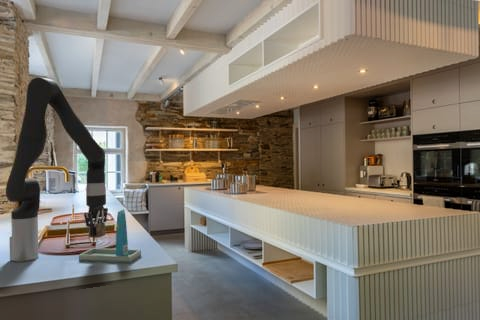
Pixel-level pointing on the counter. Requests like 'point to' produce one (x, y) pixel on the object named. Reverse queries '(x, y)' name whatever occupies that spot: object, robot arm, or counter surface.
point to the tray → (108, 256)
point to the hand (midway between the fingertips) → (96, 234)
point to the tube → (121, 235)
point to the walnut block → (99, 230)
